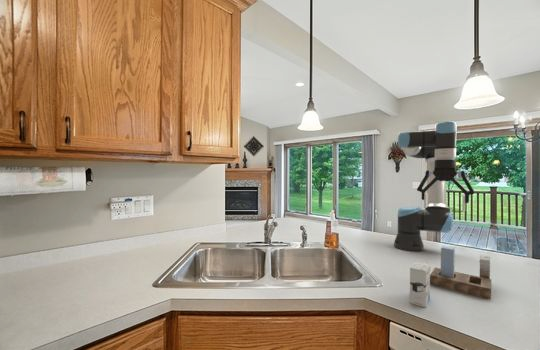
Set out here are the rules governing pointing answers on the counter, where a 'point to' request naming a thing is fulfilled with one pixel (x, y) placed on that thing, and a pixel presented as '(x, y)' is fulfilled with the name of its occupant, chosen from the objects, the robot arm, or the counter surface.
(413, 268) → the ink box
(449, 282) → the bit holder block
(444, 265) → the square bit
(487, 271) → the grey upright block
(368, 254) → the counter surface
